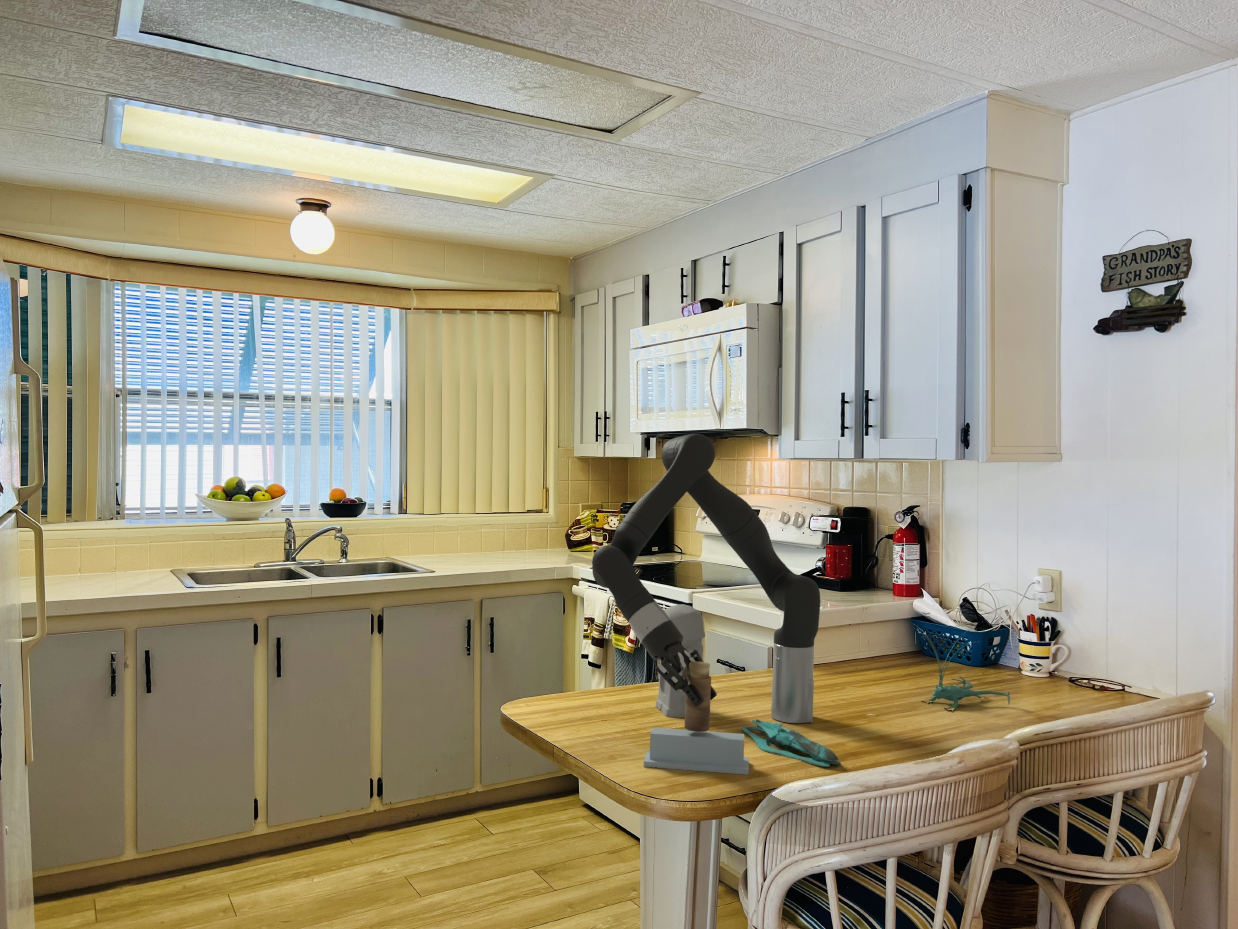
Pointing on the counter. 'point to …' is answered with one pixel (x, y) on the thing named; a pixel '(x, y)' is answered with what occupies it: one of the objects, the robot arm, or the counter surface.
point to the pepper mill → (700, 678)
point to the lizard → (957, 687)
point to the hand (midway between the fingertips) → (706, 700)
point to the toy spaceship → (791, 743)
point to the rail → (697, 751)
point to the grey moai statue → (692, 633)
